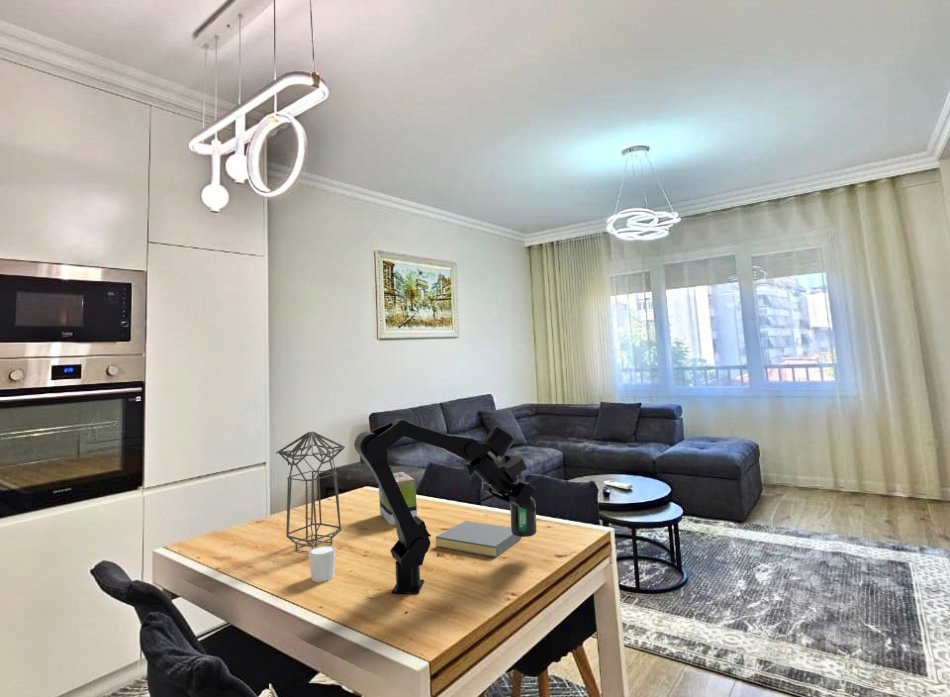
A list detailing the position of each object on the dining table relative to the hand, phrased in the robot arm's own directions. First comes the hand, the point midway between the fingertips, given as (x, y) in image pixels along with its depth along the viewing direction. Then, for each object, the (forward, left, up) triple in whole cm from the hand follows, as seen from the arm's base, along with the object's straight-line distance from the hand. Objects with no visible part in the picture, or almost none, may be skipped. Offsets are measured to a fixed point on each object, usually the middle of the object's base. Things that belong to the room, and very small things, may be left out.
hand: (527, 507), depth 133 cm
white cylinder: (-13, +53, -13) cm, 56 cm away
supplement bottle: (-1, +1, -7) cm, 7 cm away
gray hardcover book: (+11, +15, -13) cm, 23 cm away
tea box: (+37, +47, -14) cm, 61 cm away
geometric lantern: (+8, +65, -13) cm, 67 cm away
